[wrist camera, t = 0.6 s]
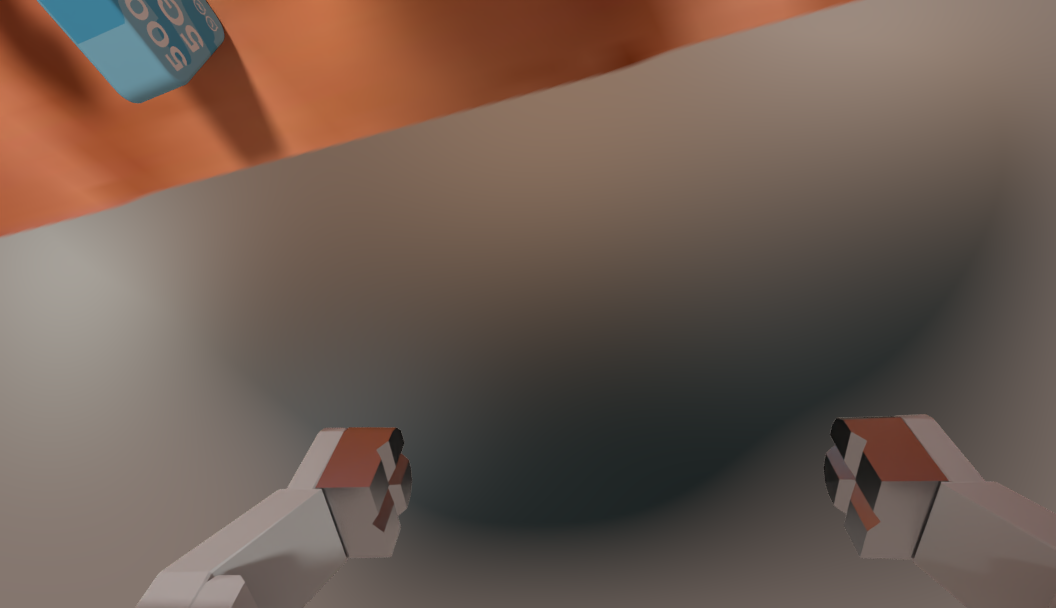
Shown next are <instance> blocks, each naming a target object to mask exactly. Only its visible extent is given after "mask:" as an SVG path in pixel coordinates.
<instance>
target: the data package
mask: <svg viewBox="0 0 1056 608" xmlns="http://www.w3.org/2000/svg"><path fill="white" fill-rule="evenodd" d="M37 1H38V2H39V3H40V5H41V6H42V7H43V8H44V9H45V10H46V11H47V12H48V14H49V15H50V16H51V17H52V18H53V19H54V20H55V22H56V23H57V24H58V25H59V26H60V27H61V28H62V30H63V31H64V32H65V33H66V34H67V35H68V36H69V38H70V39H71V40H72V41H73V42H74V43H75V44H76V46H77V47H78V48H79V49H80V50H81V51H82V52H83V54H84V55H85V56H86V57H87V58H88V59H89V60H90V62H91V63H92V64H93V65H94V66H95V67H96V68H97V70H98V71H99V72H100V73H101V74H102V75H103V76H104V78H105V79H106V80H107V81H108V82H109V83H110V84H111V86H112V87H113V88H114V89H115V90H116V91H117V92H118V93H119V94H120V95H121V96H122V97H123V98H125V99H127V100H128V101H130V102H133V103H142V102H145V101H147V100H149V99H152V98H154V97H157V96H159V95H161V94H164V93H166V92H169V91H171V90H174V89H176V88H178V87H181V86H183V85H186V84H187V83H188V82H189V81H190V80H191V78H192V77H193V76H194V75H195V74H196V73H197V72H198V70H199V69H200V68H201V67H202V66H203V65H204V63H205V62H206V61H207V60H208V59H209V58H210V56H211V55H212V54H213V53H214V52H215V51H216V49H217V48H218V47H219V46H220V45H221V44H222V42H223V41H224V31H223V28H222V25H221V23H220V21H219V19H218V18H217V16H216V15H215V13H214V12H213V10H212V9H211V7H210V6H209V5H208V3H207V2H206V0H37Z"/></svg>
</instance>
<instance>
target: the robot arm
mask: <svg viewBox="0 0 1056 608" xmlns="http://www.w3.org/2000/svg"><path fill="white" fill-rule="evenodd" d="M830 436H831V438H832V439H833V441H834V443H835V446H834V447H832V448H831V449H830V450H829V451H828V452H827V453H826V455H825V461H824V479H825V484H826V488H827V491H828V494H829V496H830V498H831V500H832V502H833V505H834V506H835V507H837V508H838V509H840V510H841V511H842V512H844V513H845V514H847V515H846V519H845V523H844V527H845V529H846V531H847V533H848V535H849V537H850V539H851V541H852V543H853V545H854V547H855V549H856V551H857V553H858V555H859V557H860V558H877V559H913V562H914V563H915V564H916V565H917V566H918V567H920V568H921V569H922V570H923V571H924V572H925V573H927V574H928V575H929V576H930V577H931V578H933V579H934V580H935V581H936V582H937V583H938V584H940V585H941V586H942V587H943V588H944V589H946V590H947V591H948V592H949V593H950V594H951V595H953V596H954V597H955V598H956V599H957V600H959V601H960V602H961V603H962V604H963V605H964V606H966V607H967V608H1056V514H1055V513H1053V512H1051V511H1049V510H1048V509H1046V508H1044V507H1042V506H1040V505H1038V504H1036V503H1034V502H1033V501H1031V500H1028V499H1027V498H1025V497H1023V496H1021V495H1019V494H1017V493H1016V492H1014V491H1012V490H1010V489H1008V488H1006V487H1005V486H1003V485H1001V484H999V483H997V482H986V481H985V480H984V479H983V478H982V476H981V475H980V474H979V473H978V472H977V471H976V469H975V468H974V467H973V466H972V464H971V463H970V462H969V461H968V460H967V458H966V457H965V456H964V455H963V454H962V452H961V451H960V450H959V449H958V448H957V446H956V445H955V444H954V443H953V442H952V440H951V439H950V438H949V437H948V436H947V434H946V433H945V432H944V431H943V430H942V428H941V427H940V426H939V425H938V424H937V422H936V421H935V420H934V419H933V418H932V417H930V416H928V415H926V414H922V415H898V416H895V417H894V416H883V417H847V418H836V419H835V421H834V422H833V424H832V427H831V432H830ZM403 446H404V439H403V436H402V433H401V430H400V429H398V428H379V427H378V428H377V427H365V428H363V427H361V428H360V427H357V428H356V427H349V428H324V429H323V430H321V431H320V432H319V433H318V435H317V436H316V438H315V440H314V442H313V443H312V445H311V447H310V449H309V450H308V452H307V454H306V456H305V457H304V459H303V461H302V463H301V465H300V466H299V468H298V470H297V471H296V473H295V475H294V477H293V478H292V480H291V482H290V484H289V485H288V487H287V489H279V490H277V491H276V492H274V493H273V494H272V495H270V496H269V497H267V498H266V499H264V500H263V501H261V502H260V503H259V504H258V505H256V506H254V507H253V508H251V509H250V510H249V511H247V512H246V513H244V514H243V515H241V516H240V517H238V518H237V519H236V520H234V521H233V522H231V523H230V524H228V525H227V526H226V527H224V528H223V529H221V530H220V531H218V532H217V533H215V534H214V535H213V536H211V537H210V538H208V539H207V540H205V541H204V542H203V543H201V544H200V545H198V546H197V547H195V548H194V549H193V550H191V551H190V552H188V553H187V554H185V555H184V556H182V557H181V558H180V559H178V560H177V561H175V562H174V563H172V564H171V565H169V566H168V567H167V568H165V569H164V570H162V571H161V572H160V573H159V574H158V575H157V577H156V578H155V580H154V581H153V582H152V584H151V585H150V587H149V588H148V590H147V591H146V592H145V594H144V595H143V597H142V598H141V600H140V601H139V603H138V604H137V605H136V607H135V608H303V607H304V606H305V605H306V604H307V603H308V602H309V601H310V600H311V599H312V598H313V597H314V596H315V595H316V593H318V591H319V590H320V589H321V588H322V587H323V586H324V585H325V584H326V583H327V582H328V581H329V580H330V579H331V578H332V577H333V576H334V574H336V573H337V571H338V570H339V569H340V568H341V567H342V566H343V565H344V564H345V563H346V562H347V558H374V557H391V556H392V553H393V550H394V547H395V544H396V541H397V537H398V535H399V531H400V528H401V526H400V523H399V519H398V515H400V514H401V513H402V512H403V511H404V510H405V509H406V508H407V506H408V503H409V500H410V496H411V486H412V473H411V466H410V462H409V460H408V459H407V458H406V457H405V456H404V455H403V454H401V452H402V449H403Z"/></svg>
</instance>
